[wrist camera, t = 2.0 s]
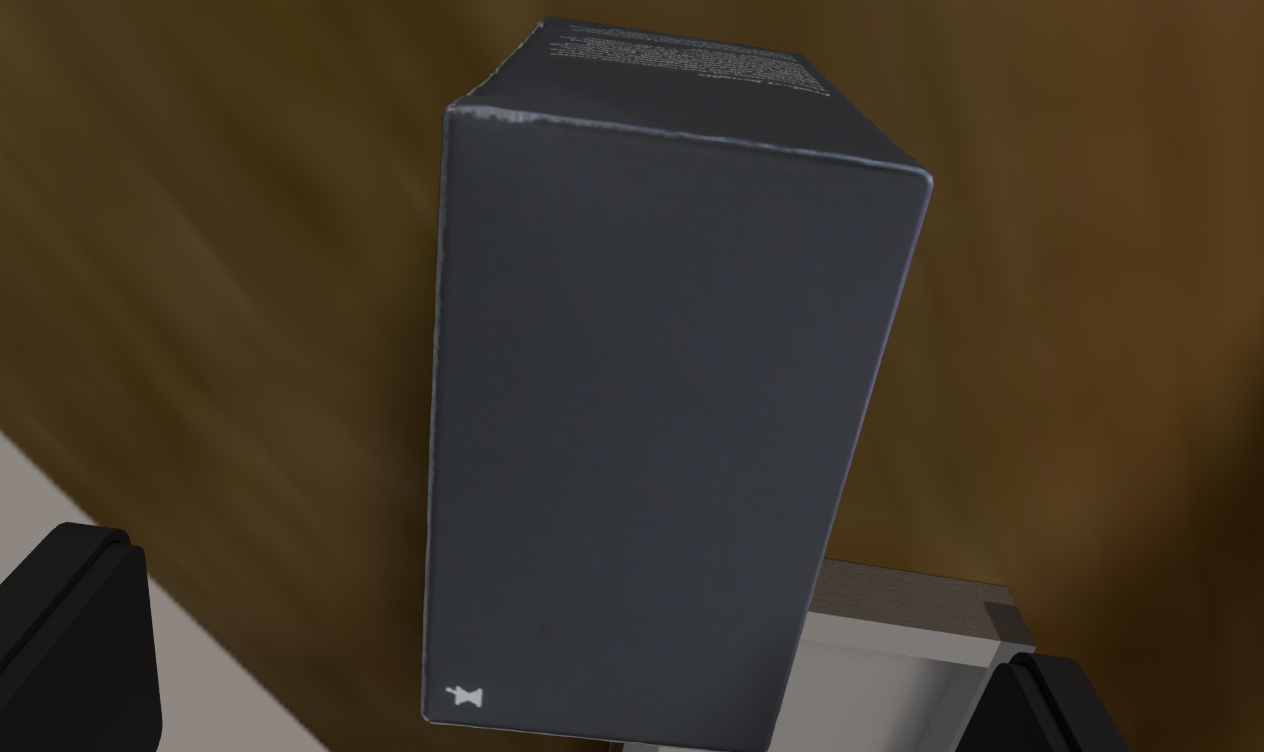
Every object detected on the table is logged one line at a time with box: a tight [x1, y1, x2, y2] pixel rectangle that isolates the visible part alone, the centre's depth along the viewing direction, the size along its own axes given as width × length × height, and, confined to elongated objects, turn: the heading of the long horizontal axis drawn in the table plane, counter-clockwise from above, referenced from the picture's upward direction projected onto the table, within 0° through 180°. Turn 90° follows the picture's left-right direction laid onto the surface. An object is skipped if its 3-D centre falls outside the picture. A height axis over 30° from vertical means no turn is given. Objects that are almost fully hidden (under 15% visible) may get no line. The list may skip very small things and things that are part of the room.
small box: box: [421, 17, 934, 752], centre depth 17 cm, size 11×6×10 cm, turn 172°
